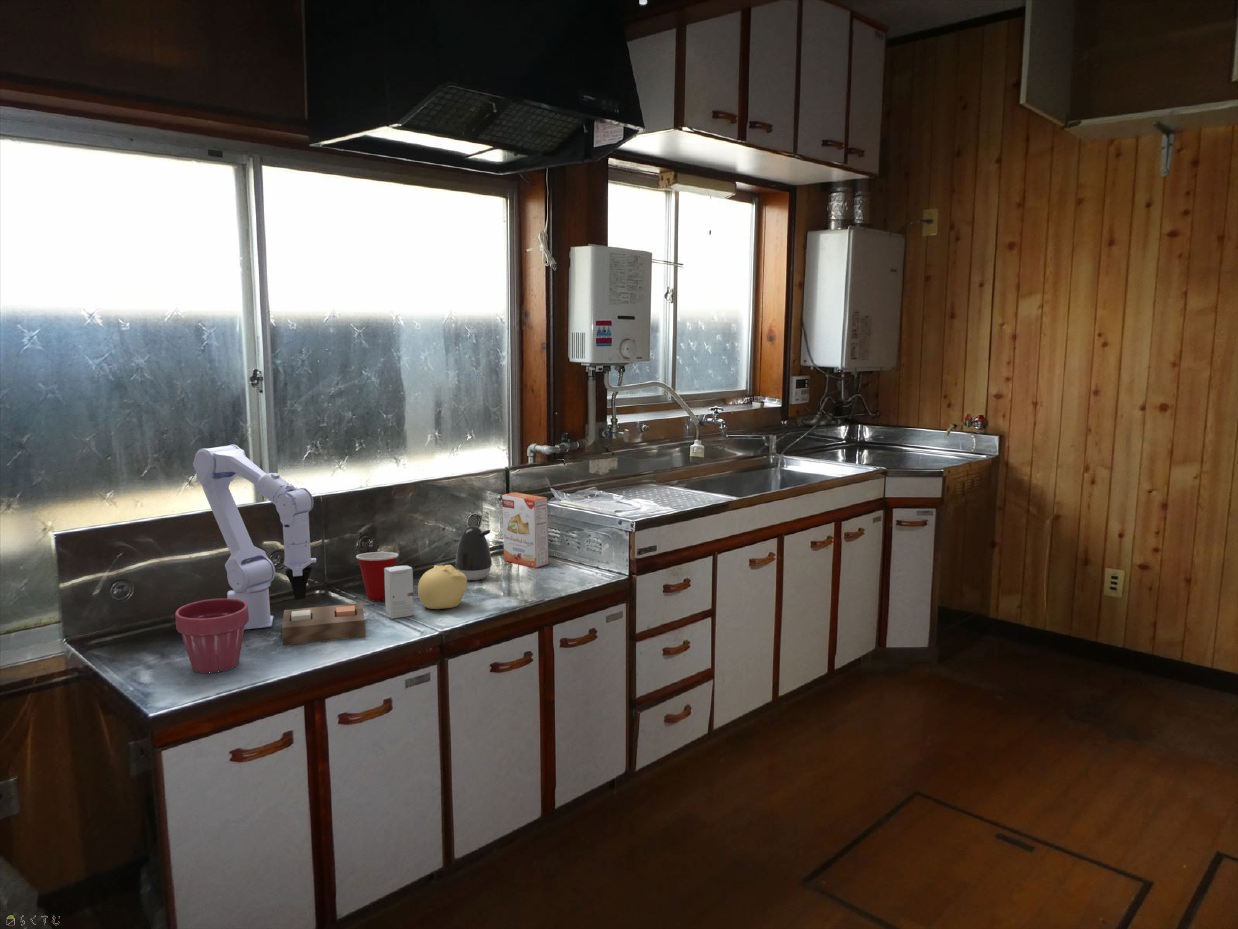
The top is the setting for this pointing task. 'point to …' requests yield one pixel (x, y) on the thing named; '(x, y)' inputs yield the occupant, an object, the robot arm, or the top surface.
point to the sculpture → (442, 587)
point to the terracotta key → (345, 611)
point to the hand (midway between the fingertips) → (300, 598)
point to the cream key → (301, 615)
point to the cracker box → (525, 529)
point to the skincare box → (399, 591)
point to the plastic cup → (375, 572)
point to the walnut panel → (323, 625)
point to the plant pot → (213, 632)
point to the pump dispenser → (473, 554)
